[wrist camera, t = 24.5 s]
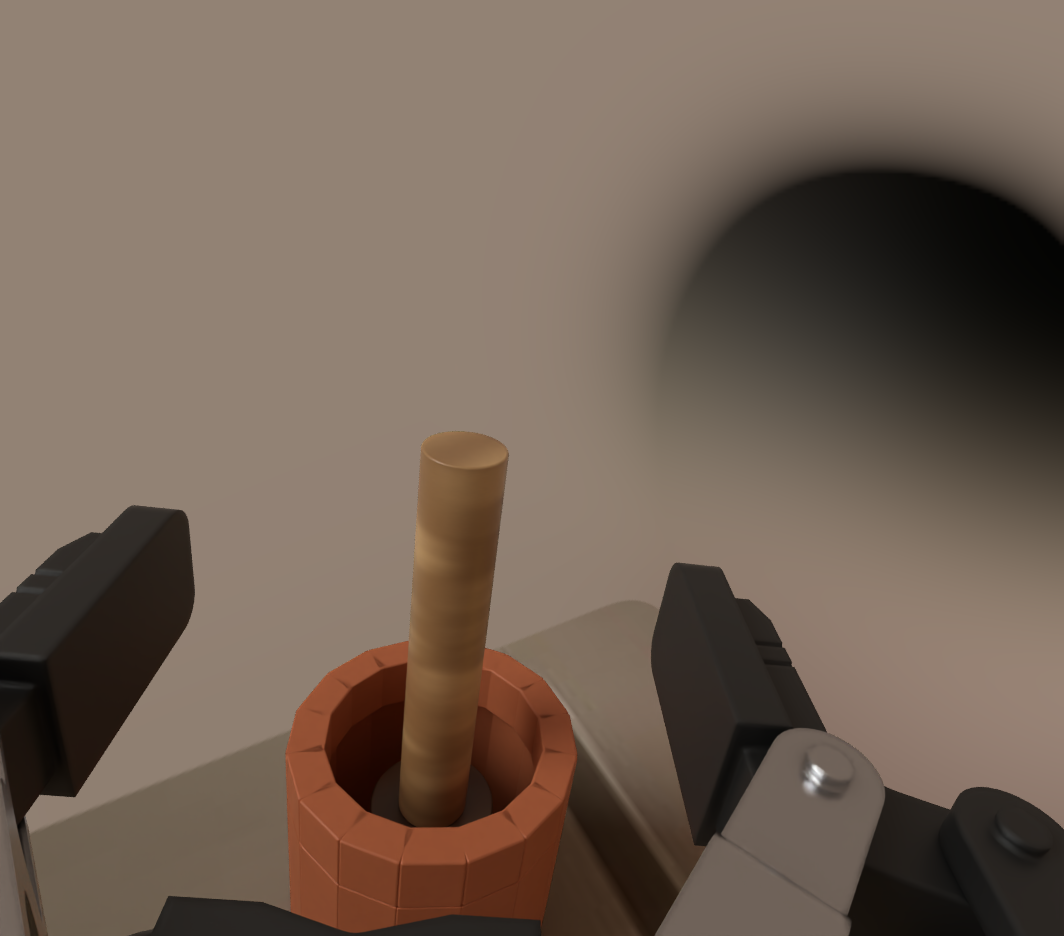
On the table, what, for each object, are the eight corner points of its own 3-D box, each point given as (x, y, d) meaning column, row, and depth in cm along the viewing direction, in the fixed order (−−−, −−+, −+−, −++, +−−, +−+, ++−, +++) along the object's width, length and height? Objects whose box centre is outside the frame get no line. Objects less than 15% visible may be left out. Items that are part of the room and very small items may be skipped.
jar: (243, 918, 28) (228, 729, 23) (424, 774, 35) (439, 608, 30) (412, 1128, 23) (432, 936, 18) (584, 909, 30) (628, 733, 25)
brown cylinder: (341, 921, 27) (348, 448, 19) (412, 835, 31) (445, 405, 22) (434, 989, 25) (491, 503, 17) (498, 890, 29) (571, 447, 20)
